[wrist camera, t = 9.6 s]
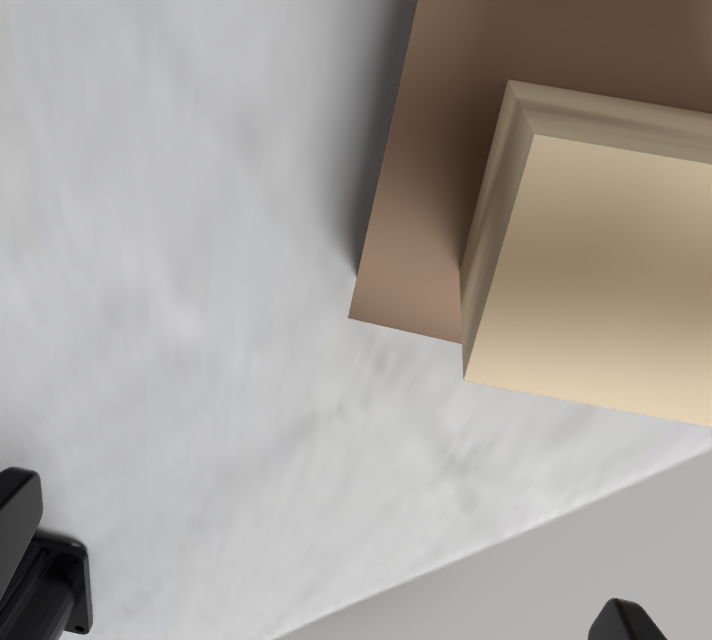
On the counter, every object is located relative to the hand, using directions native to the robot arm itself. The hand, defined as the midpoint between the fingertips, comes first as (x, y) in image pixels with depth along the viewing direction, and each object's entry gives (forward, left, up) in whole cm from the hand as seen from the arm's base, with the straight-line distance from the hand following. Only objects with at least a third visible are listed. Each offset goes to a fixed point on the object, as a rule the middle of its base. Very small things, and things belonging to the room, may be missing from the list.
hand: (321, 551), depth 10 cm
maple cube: (+4, -5, -9) cm, 11 cm away
